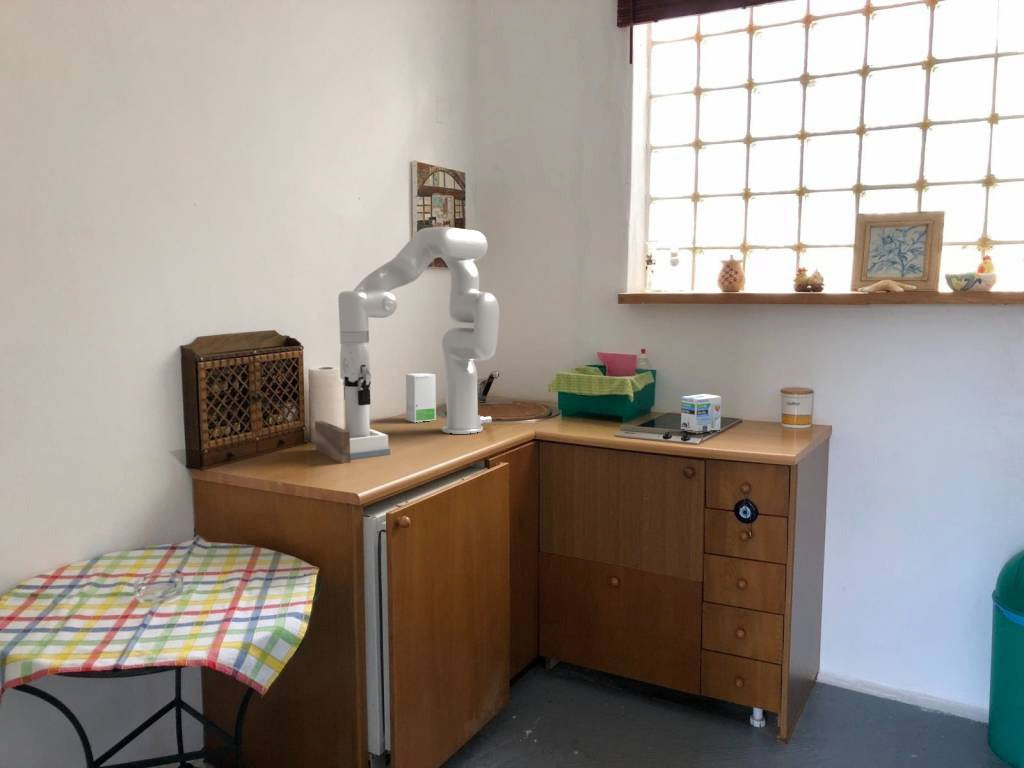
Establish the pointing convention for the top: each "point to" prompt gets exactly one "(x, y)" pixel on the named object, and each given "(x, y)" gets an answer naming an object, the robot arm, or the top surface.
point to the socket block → (369, 445)
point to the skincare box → (420, 397)
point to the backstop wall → (332, 441)
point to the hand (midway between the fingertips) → (357, 402)
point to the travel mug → (355, 411)
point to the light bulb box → (701, 412)
